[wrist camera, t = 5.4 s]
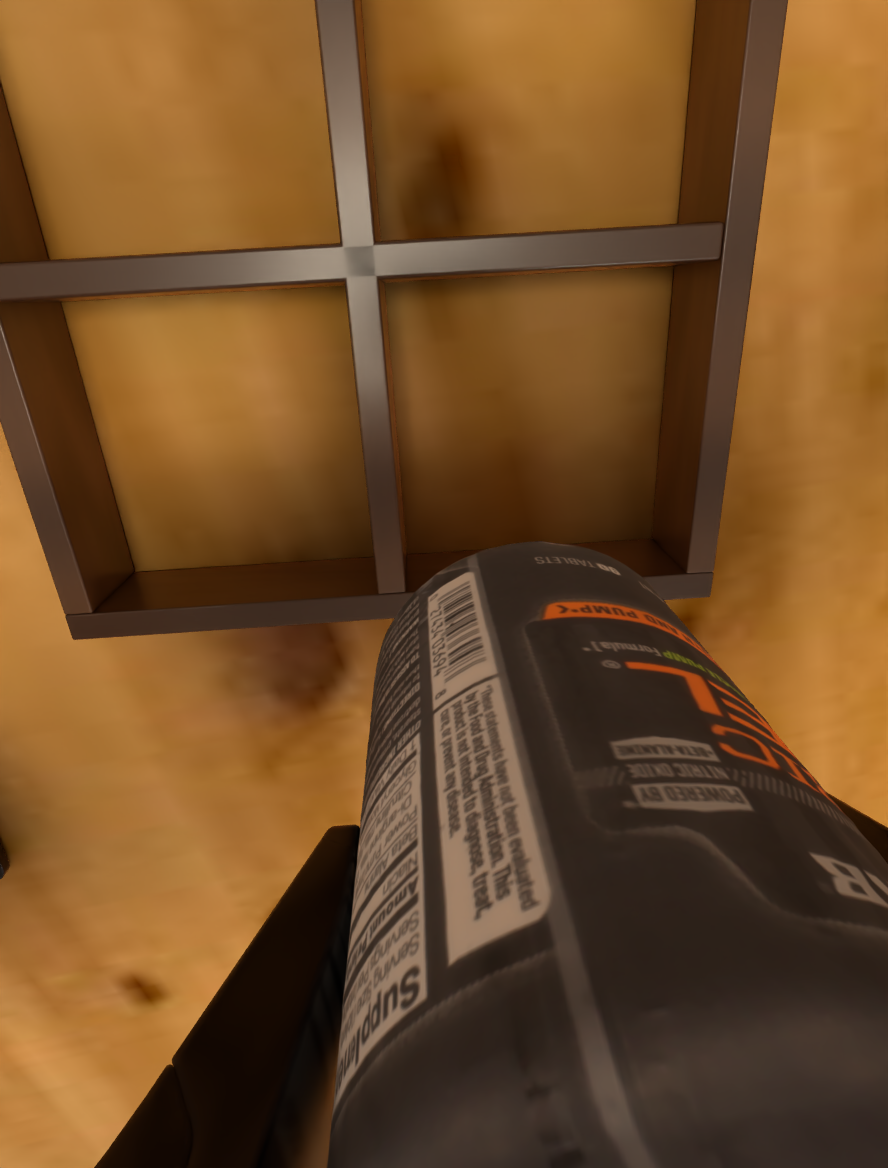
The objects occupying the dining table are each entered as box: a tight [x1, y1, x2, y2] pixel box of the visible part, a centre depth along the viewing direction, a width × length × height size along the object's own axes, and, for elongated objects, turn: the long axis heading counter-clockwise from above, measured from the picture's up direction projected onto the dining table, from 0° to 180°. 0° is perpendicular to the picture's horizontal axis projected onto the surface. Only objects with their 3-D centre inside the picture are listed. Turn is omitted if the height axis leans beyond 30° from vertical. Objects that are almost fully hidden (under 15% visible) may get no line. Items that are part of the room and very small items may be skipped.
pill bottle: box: [327, 541, 888, 1168], centre depth 7 cm, size 6×6×11 cm
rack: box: [0, 0, 788, 640], centre depth 16 cm, size 18×18×3 cm
